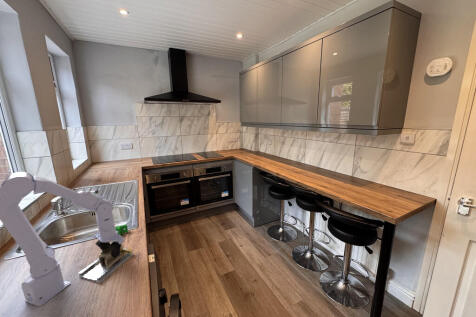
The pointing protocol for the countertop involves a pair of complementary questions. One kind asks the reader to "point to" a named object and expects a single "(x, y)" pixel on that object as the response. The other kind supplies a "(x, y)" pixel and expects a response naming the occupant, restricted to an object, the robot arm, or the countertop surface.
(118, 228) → the pipe clamp
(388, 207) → the countertop surface
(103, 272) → the silver channel bracket
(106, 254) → the tan notched block
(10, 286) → the countertop surface
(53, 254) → the robot arm
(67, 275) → the countertop surface
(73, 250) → the countertop surface
